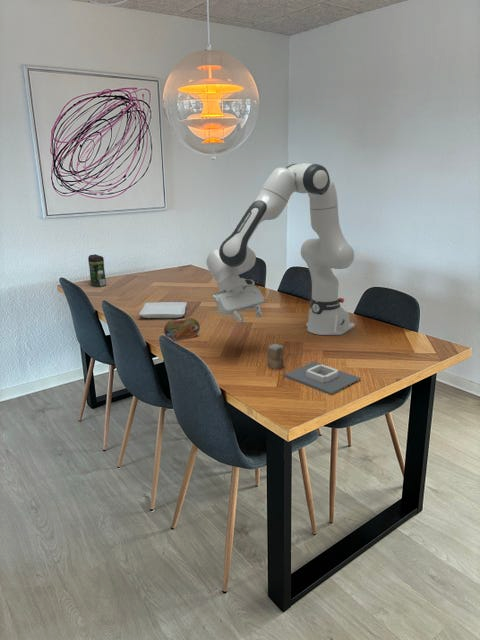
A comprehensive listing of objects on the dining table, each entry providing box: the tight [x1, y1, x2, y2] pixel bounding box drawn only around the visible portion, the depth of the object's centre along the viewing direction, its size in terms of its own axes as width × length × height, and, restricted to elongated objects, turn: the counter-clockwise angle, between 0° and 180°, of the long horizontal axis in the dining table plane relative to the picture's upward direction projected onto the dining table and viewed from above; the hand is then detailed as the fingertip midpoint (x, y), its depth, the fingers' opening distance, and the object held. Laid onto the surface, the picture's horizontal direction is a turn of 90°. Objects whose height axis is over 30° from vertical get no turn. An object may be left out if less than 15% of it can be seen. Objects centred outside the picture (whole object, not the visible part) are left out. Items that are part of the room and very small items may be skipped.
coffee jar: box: [87, 254, 107, 288], centre depth 297 cm, size 10×8×19 cm
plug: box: [267, 343, 284, 371], centre depth 177 cm, size 4×4×8 cm
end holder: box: [283, 361, 362, 395], centre depth 168 cm, size 16×20×3 cm
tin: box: [163, 317, 201, 342], centre depth 207 cm, size 15×3×8 cm, turn 115°
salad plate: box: [139, 301, 188, 319], centre depth 242 cm, size 21×21×3 cm
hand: (250, 319), depth 183 cm, fingers open, 8 cm apart
